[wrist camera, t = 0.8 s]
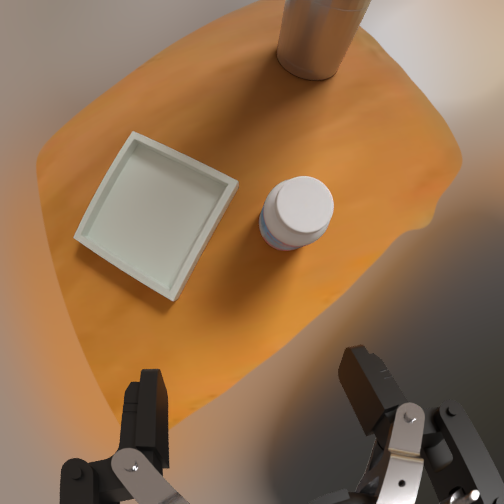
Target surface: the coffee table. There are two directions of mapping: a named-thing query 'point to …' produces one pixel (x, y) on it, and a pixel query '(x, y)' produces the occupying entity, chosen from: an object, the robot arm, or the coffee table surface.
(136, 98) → the coffee table surface
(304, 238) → the pill bottle
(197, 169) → the tray
